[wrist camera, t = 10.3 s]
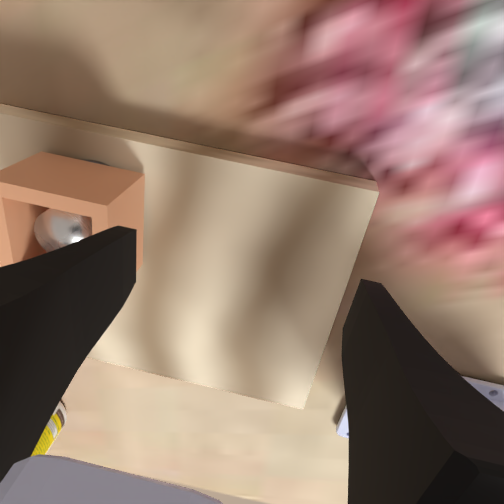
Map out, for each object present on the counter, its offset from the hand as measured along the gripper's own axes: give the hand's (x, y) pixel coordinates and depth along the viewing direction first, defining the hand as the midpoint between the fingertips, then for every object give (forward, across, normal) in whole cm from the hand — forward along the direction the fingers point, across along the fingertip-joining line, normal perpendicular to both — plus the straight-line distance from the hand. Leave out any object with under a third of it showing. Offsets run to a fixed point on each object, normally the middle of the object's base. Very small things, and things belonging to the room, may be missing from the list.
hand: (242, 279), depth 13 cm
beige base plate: (+9, +5, +7) cm, 13 cm away
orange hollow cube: (+8, +9, +3) cm, 12 cm away
